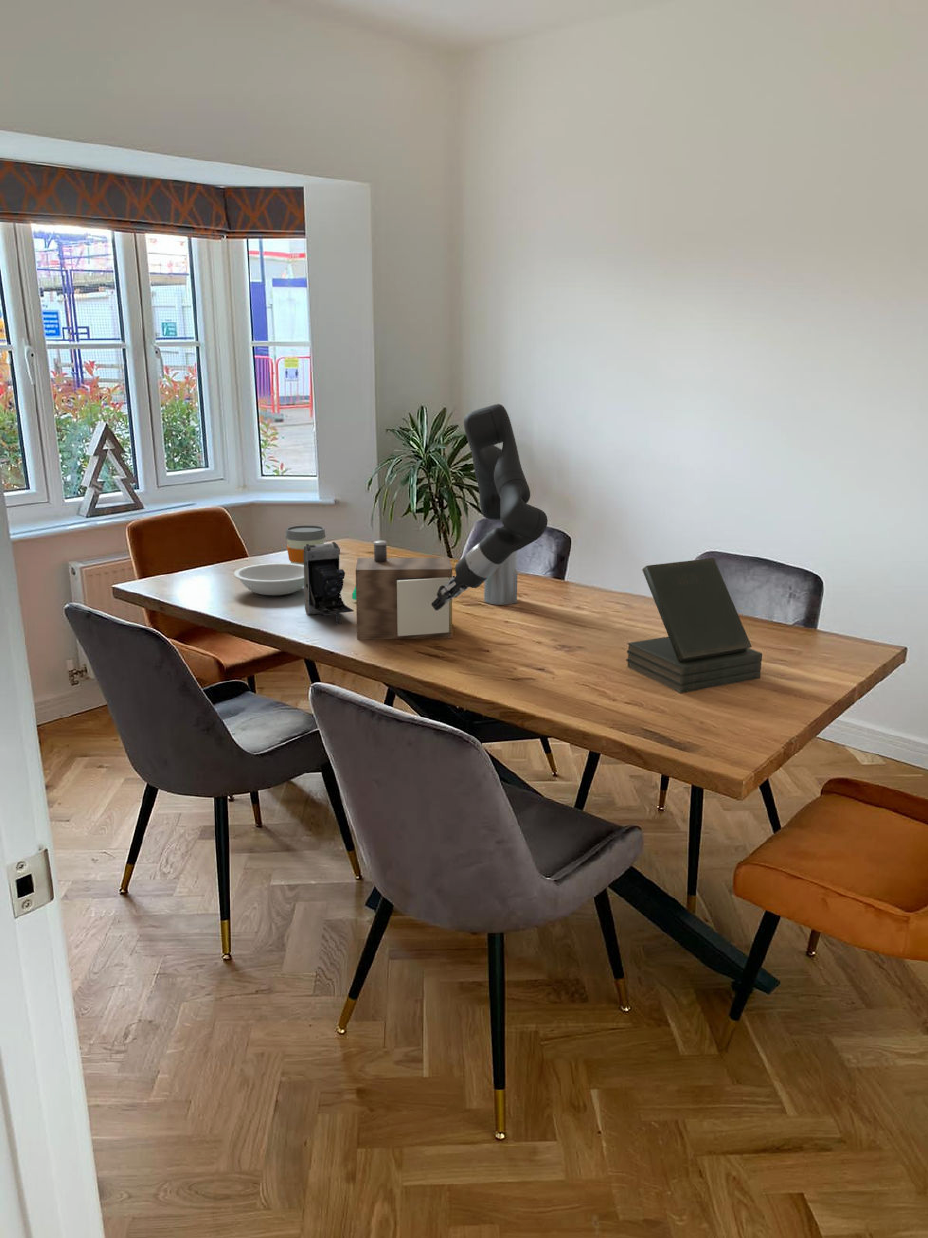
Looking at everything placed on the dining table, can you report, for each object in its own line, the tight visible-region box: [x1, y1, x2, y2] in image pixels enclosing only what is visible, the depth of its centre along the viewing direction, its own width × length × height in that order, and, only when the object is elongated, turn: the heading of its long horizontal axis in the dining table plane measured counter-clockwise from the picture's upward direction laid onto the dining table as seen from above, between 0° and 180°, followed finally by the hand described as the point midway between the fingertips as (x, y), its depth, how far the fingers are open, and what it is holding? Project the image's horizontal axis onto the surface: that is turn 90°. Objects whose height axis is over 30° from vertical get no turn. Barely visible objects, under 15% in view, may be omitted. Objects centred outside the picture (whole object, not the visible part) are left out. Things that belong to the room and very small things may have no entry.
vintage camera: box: [303, 541, 355, 625], centre depth 259 cm, size 10×16×20 cm, turn 28°
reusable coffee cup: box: [285, 524, 326, 565], centre depth 309 cm, size 13×13×15 cm
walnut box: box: [355, 556, 453, 640], centre depth 248 cm, size 24×14×18 cm, turn 94°
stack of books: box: [625, 557, 763, 694], centre depth 217 cm, size 23×20×25 cm
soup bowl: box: [233, 562, 304, 596], centre depth 287 cm, size 24×24×7 cm
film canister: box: [373, 540, 388, 562], centre depth 247 cm, size 3×3×5 cm
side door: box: [397, 577, 453, 636], centre depth 240 cm, size 14×1×14 cm, turn 107°
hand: (435, 606), depth 233 cm, fingers closed
